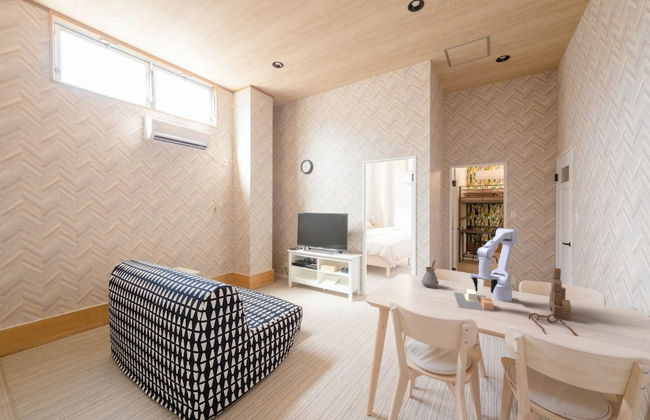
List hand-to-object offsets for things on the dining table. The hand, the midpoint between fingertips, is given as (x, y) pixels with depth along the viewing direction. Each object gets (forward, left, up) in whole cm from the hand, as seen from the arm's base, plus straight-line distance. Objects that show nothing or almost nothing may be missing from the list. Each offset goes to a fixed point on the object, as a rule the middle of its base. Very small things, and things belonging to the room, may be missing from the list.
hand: (484, 291), depth 151 cm
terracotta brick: (-1, +2, -8) cm, 8 cm away
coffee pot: (+27, -32, -9) cm, 43 cm away
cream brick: (+5, -9, -8) cm, 13 cm away
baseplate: (+5, -4, -9) cm, 11 cm away
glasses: (-25, +16, -10) cm, 32 cm away
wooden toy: (-36, -3, -9) cm, 37 cm away
